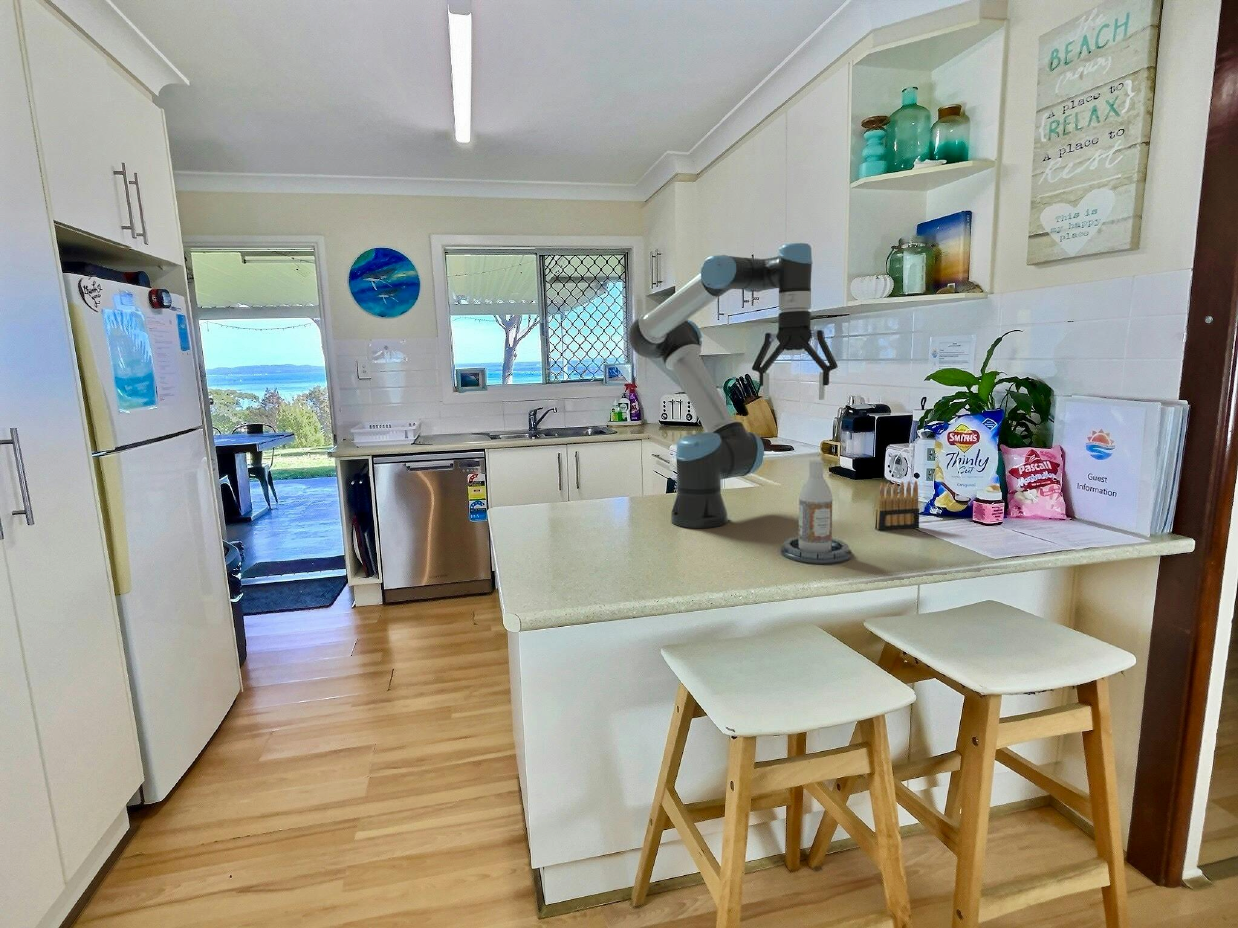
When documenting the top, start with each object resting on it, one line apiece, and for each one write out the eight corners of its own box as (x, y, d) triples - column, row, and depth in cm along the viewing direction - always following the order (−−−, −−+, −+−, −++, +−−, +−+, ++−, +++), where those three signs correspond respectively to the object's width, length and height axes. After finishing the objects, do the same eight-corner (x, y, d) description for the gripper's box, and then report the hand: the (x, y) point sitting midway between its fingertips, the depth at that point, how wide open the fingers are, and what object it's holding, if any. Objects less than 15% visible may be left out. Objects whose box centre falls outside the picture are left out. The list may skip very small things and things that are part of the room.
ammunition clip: (878, 531, 154) (880, 483, 152) (874, 529, 155) (876, 482, 153) (919, 528, 155) (921, 481, 153) (914, 526, 157) (917, 479, 155)
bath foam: (807, 555, 134) (808, 464, 131) (793, 546, 141) (794, 459, 137) (837, 553, 135) (839, 462, 132) (821, 544, 142) (823, 457, 139)
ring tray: (772, 558, 135) (772, 550, 135) (790, 540, 148) (790, 532, 148) (845, 568, 128) (845, 558, 127) (856, 548, 141) (856, 539, 140)
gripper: (739, 313, 153) (739, 400, 156) (846, 306, 141) (843, 400, 144) (748, 315, 159) (748, 398, 163) (851, 308, 147) (848, 398, 151)
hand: (793, 399), depth 154 cm, fingers open, 13 cm apart
